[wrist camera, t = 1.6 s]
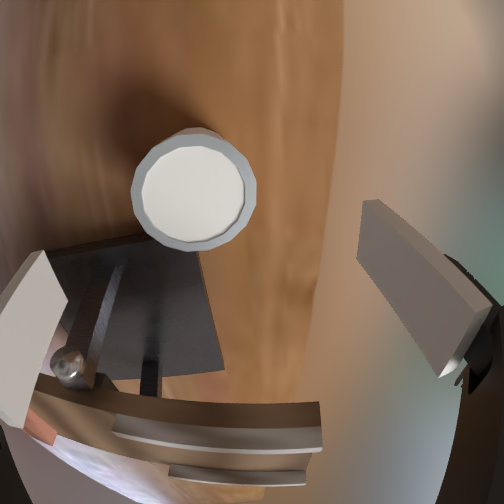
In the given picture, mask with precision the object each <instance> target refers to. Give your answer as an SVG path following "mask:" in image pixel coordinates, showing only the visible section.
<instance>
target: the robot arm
mask: <svg viewBox="0 0 504 504" xmlns="http://www.w3.org/2000/svg"><path fill="white" fill-rule="evenodd" d="M357 260H358V262H359V263H360V264H361V265H362V267H363V268H364V270H365V271H366V272H367V274H368V275H369V276H370V278H371V279H372V280H373V282H374V283H375V284H376V286H377V287H378V288H379V290H380V291H381V293H382V294H383V295H384V297H385V298H386V299H387V301H388V302H389V304H390V305H391V307H392V308H393V309H394V311H395V312H396V314H397V315H398V317H399V318H400V320H401V321H402V323H403V324H404V325H405V327H406V328H407V330H408V331H409V333H410V334H411V336H412V337H413V339H414V340H415V342H416V343H417V345H418V346H419V348H420V349H421V351H422V353H423V354H424V356H425V357H426V359H427V361H428V362H429V364H430V365H431V367H432V369H433V370H434V372H435V374H436V375H437V377H438V378H439V377H441V376H443V375H446V374H448V373H450V372H452V371H454V370H455V369H456V368H457V366H458V365H459V363H460V362H461V360H462V359H463V357H464V359H465V360H466V361H467V363H468V364H467V365H466V367H465V368H464V370H463V371H462V372H461V374H460V375H459V377H458V378H457V380H456V382H455V384H454V385H455V386H457V385H458V384H459V383H460V381H461V380H462V379H463V384H462V386H461V387H462V394H461V402H460V408H459V415H458V420H457V426H456V431H455V436H454V441H453V445H452V450H451V454H450V458H449V461H448V465H447V469H446V472H445V476H444V479H443V482H442V486H441V489H440V492H439V495H438V498H437V500H436V503H435V504H504V306H501V305H499V303H498V302H497V301H496V300H495V299H494V298H493V297H492V296H491V295H490V294H489V293H488V292H487V291H486V290H485V288H484V287H483V286H482V285H481V284H480V283H479V282H478V281H477V280H476V279H475V280H474V277H473V276H472V275H471V274H470V273H469V272H467V270H466V269H465V268H464V267H463V266H462V265H461V264H460V263H459V262H458V261H456V260H454V259H453V258H451V257H449V256H447V255H446V254H442V253H441V252H440V251H439V250H438V249H437V248H436V247H435V246H433V245H432V244H431V243H430V242H429V241H428V240H427V239H426V238H425V237H424V236H422V235H421V234H420V233H419V232H418V231H417V230H416V229H414V228H413V227H412V226H411V225H410V224H408V223H407V222H406V221H405V220H404V219H403V218H401V217H400V216H399V215H398V214H397V213H395V212H394V211H393V210H392V209H390V208H389V207H388V206H387V205H385V204H384V203H383V202H382V201H380V200H379V199H378V200H366V201H363V205H362V216H361V226H360V234H359V244H358V252H357ZM67 302H68V300H67V298H66V296H65V294H64V292H63V290H62V288H61V286H60V284H59V282H58V280H57V278H56V276H55V274H54V272H53V269H52V267H51V265H50V263H49V261H48V258H47V256H46V254H45V252H44V250H40V251H35V252H31V253H30V255H29V256H28V257H27V258H26V260H25V261H24V262H23V264H22V265H21V267H20V268H19V269H18V271H17V272H16V273H15V275H14V276H13V278H12V279H11V281H10V282H9V283H8V285H7V286H6V288H5V289H4V291H3V292H2V294H1V295H0V418H1V419H2V420H3V421H4V422H6V423H7V424H8V425H9V426H13V427H17V428H21V429H23V427H24V423H25V419H26V415H27V411H28V408H29V404H30V401H31V397H32V394H33V391H34V387H35V384H36V381H37V378H38V375H39V372H40V369H41V366H42V363H43V361H44V358H45V355H46V353H47V350H48V347H49V345H50V342H51V340H52V337H53V335H54V332H55V330H56V327H57V325H58V323H59V320H60V318H61V316H62V313H63V311H64V309H65V307H66V304H67ZM0 504H33V503H32V501H31V499H30V497H29V495H28V493H27V491H26V489H25V487H24V485H23V482H22V480H21V478H20V475H19V473H18V471H17V468H16V466H15V463H14V460H13V458H12V455H11V452H10V450H9V447H8V444H7V441H6V438H5V435H4V431H3V429H2V427H1V425H0Z"/></svg>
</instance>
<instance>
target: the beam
mask: <svg viewBox="0 0 504 504" xmlns="http://www.w3.org/2000/svg"><path fill="white" fill-rule="evenodd" d="M20 429H21V428H20ZM21 430H22V431H24V432H25V433H26V434H28V435H29V436H31V437H33V438H35V439H37V440H40V441H42V442H44V443H46V444H48V445H50V446H53V444H54V441H55V438H56V435H57V434H58V435H60V436H63V437H66V438H68V439H71V440H74V441H76V442H79V443H82V444H85V445H88V446H91V447H94V448H98V449H101V450H104V451H108V452H111V453H115V454H118V455H122V456H126V457H130V458H134V459H139V460H143V461H148V462H153V463H158V464H163V465H169V466H170V468H169V473H168V476H169V477H171V478H175V479H181V480H187V481H195V482H203V483H212V484H223V485H238V486H296V485H305V484H306V468H307V466H308V463H309V460H310V457H311V455H312V452H320V451H321V450H322V448H323V443H322V429H321V417H320V406H319V401H318V402H302V403H277V404H238V403H213V402H197V401H185V400H175V399H166V398H157V397H150V396H143V395H136V394H130V393H124V392H119V390H118V389H117V388H116V386H115V385H114V384H113V383H112V381H111V380H110V379H109V377H108V376H107V375H106V374H105V373H99V372H96V377H95V382H94V387H93V390H67V389H66V388H65V387H64V386H63V385H62V384H61V382H60V381H59V380H58V379H57V378H56V377H53V376H49V375H46V374H42V373H39V375H38V378H37V381H36V384H35V387H34V391H33V394H32V397H31V401H30V404H29V408H28V411H27V415H26V419H25V423H24V427H23V429H21Z"/></svg>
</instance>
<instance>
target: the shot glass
mask: <svg viewBox="0 0 504 504" xmlns="http://www.w3.org/2000/svg"><path fill="white" fill-rule="evenodd" d="M131 198H132V204H133V210H134V214H135V216H136V217H137V219H138V220H139V222H140V224H141V225H142V227H143V228H144V230H145V231H146V233H148V234H149V235H150V236H152V237H153V238H155V239H156V240H157V241H159V242H160V243H162V244H163V245H164V246H167V247H171V248H175V249H179V250H182V251H186V252H189V251H202V250H210V249H213V248H215V247H217V246H219V245H222V244H224V243H226V242H229V241H231V240H232V239H233V238H234V237H235V236H236V235H237V234H238V233H239V232H240V231H241V230H242V229H243V228H244V227H245V226H246V225H247V223H248V221H249V219H250V216H251V214H252V212H253V210H254V208H255V205H256V179H255V177H254V174H253V172H252V170H251V168H250V165H249V163H248V161H247V159H246V158H245V157H244V156H243V155H242V154H241V153H240V152H239V151H237V150H236V149H235V148H234V147H233V146H232V145H231V144H230V143H229V142H227V141H226V140H225V139H224V138H222V137H221V136H220V135H219V134H217V133H216V132H214V131H211V130H208V129H205V128H202V127H197V128H186V129H184V130H182V131H180V132H178V133H176V134H174V135H172V136H170V137H169V138H167V139H166V140H164V141H162V142H161V143H159V144H158V145H156V146H155V147H153V148H152V149H151V150H150V152H149V153H148V154H147V155H146V157H145V158H144V159H143V160H142V161H141V163H140V164H139V165H138V167H137V168H136V172H135V175H134V179H133V183H132V187H131Z"/></svg>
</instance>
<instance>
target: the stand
mask: <svg viewBox="0 0 504 504" xmlns="http://www.w3.org/2000/svg"><path fill="white" fill-rule="evenodd" d="M45 254H46V256H47V258H48V261H49V263H50V265H51V267H52V269H53V272H54V274H55V276H56V278H57V280H58V282H59V284H60V286H61V288H62V290H63V292H64V294H65V296H66V298H67V300H68V302H67V304H66V307H65V309H64V311H63V313H62V316H61V318H60V322H61V324H62V325H63V327H64V328H65V330H66V332H67V333H68V335H69V336H68V339H67V342H66V345H65V346H64V347H62V348H60V349H58V350H57V351H56V352H55V353H54V354H53V356H52V358H51V360H50V368H51V370H52V371H53V373H54V374H55V375H56V378H57V379H58V380H59V381H60V382H61V384H62V385H63V386H64V387H65V388H66V389H67V390H93V387H94V382H95V377H96V372H99V373H105V374H106V375H107V376H108V377H109V379H110V380H124V379H141V382H140V394H139V395H143V396H150V397H157V398H162V377H169V376H179V375H188V374H197V373H205V372H213V371H220V370H225V368H224V360H223V356H222V352H221V348H220V344H219V340H218V336H217V332H216V328H215V324H214V320H213V316H212V312H211V307H210V303H209V299H208V294H207V290H206V286H205V281H204V277H203V272H202V267H201V263H200V258H199V253H198V251H189V252H186V251H182V250H179V249H175V248H171V247H167V246H164V245H163V244H162V243H160V242H159V241H157V240H156V239H155V238H153V237H152V236H150V235H149V234H148V233H141V234H135V235H130V236H124V237H119V238H113V239H108V240H103V241H98V242H92V243H87V244H82V245H77V246H72V247H67V248H63V249H58V250H53V251H48V252H45ZM147 462H148V461H147ZM149 463H151V464H158V463H153V462H149Z"/></svg>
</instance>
